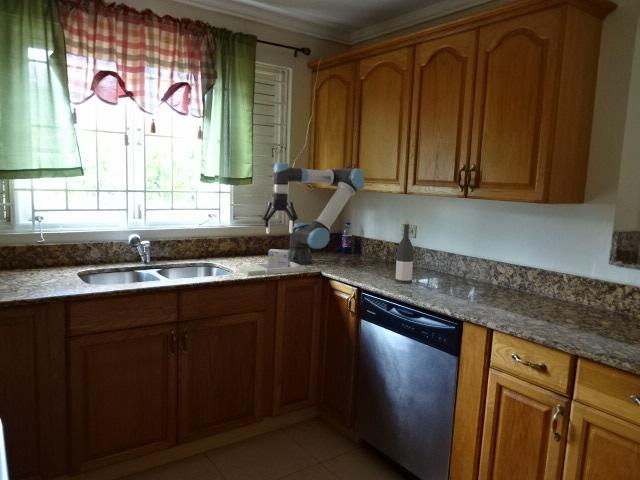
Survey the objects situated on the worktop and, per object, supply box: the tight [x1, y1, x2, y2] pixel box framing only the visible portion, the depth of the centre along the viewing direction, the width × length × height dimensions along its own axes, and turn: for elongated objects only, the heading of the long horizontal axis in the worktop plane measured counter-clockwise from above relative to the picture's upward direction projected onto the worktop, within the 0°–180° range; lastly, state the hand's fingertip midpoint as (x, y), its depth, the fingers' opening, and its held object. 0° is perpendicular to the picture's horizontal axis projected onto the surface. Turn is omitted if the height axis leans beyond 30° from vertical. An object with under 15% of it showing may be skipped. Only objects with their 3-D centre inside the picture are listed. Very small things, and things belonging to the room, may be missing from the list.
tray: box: [253, 262, 305, 275], centre depth 262 cm, size 22×16×2 cm
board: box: [238, 265, 265, 276], centre depth 252 cm, size 9×12×2 cm
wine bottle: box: [395, 220, 414, 285], centre depth 240 cm, size 8×8×30 cm
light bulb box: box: [267, 248, 290, 269], centre depth 261 cm, size 11×7×11 cm, turn 84°
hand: (279, 233), depth 259 cm, fingers open, 13 cm apart
